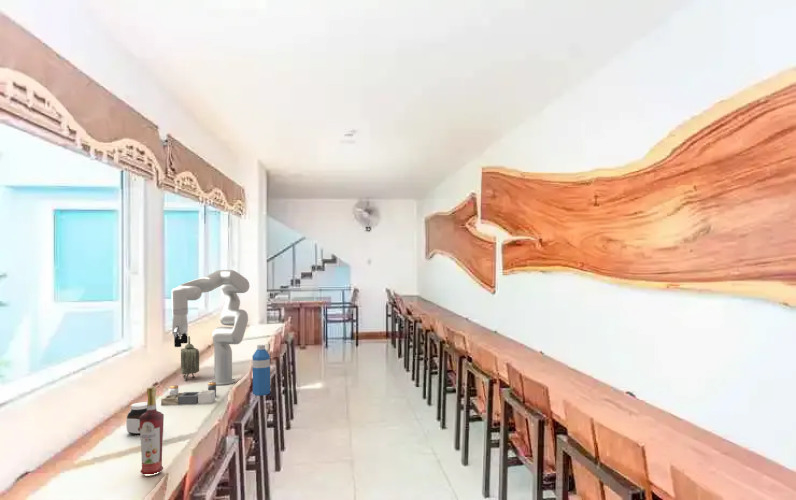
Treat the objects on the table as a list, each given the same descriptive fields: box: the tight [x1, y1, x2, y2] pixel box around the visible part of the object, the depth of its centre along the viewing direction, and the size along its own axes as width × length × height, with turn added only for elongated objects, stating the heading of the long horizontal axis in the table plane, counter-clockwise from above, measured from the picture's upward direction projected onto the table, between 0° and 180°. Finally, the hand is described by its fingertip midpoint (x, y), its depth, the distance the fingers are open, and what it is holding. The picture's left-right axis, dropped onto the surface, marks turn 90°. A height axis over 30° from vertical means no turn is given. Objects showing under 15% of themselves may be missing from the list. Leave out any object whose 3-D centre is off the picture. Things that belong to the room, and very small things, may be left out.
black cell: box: [207, 381, 217, 398], centre depth 289 cm, size 4×4×7 cm
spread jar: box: [125, 401, 148, 437], centre depth 232 cm, size 12×11×12 cm
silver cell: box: [169, 384, 179, 398], centre depth 280 cm, size 4×4×7 cm
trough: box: [160, 392, 183, 406], centre depth 280 cm, size 12×8×3 cm, turn 2°
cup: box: [197, 389, 216, 405], centre depth 278 cm, size 6×6×5 cm
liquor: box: [139, 386, 165, 475], centre depth 186 cm, size 7×7×28 cm
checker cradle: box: [178, 391, 200, 406], centre depth 279 cm, size 9×9×4 cm
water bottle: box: [252, 344, 271, 396], centre depth 295 cm, size 9×9×25 cm
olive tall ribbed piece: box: [180, 336, 200, 382], centre depth 333 cm, size 14×9×25 cm, turn 25°
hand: (181, 345), depth 290 cm, fingers open, 9 cm apart
